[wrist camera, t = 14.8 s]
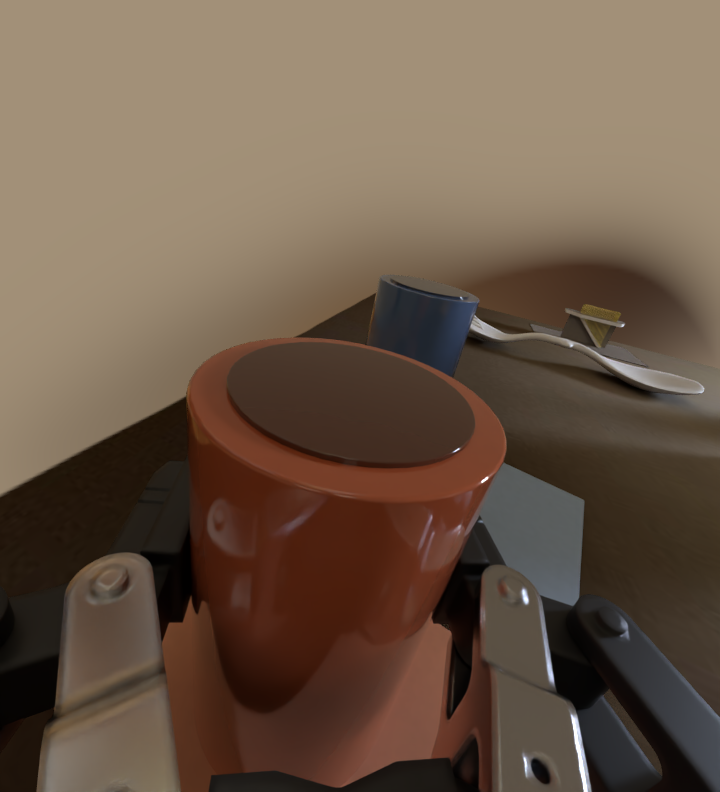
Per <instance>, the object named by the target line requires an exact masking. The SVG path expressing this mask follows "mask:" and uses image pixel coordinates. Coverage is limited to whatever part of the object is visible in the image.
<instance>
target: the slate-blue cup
mask: <svg viewBox="0 0 720 792" xmlns="http://www.w3.org/2000/svg"><path fill="white" fill-rule="evenodd" d="M478 304H479V299H478V298H477V297H476V296H474V295H472V294H470V293H468V292H465V291H462V290H460V289H457V288H455V287H452V286H449V285H445V284H442V283H438V282H434V281H430V280H425V279H421V278H415V277H409V276H399V275H383V276H380V278H379V283H378V288H377V292H376V297H375V302H374V306H373V311H372V316H371V321H370V325H369V330H368V335H367V339H366V344H365V345H367V346H372V347H376V348H380V349H383V350H387V351H390V352H394V353H397V354H400V355H403V356H406V357H409V358H411V359H414V360H417V361H419V362H421V363H424V364H426V365H428V366H430V367H433V368H435V369H437V370H439V371H441V372H443V373H444V374H446V375H448V376H450V377H452V378H453V377H454V374H455V371H456V368H457V365H458V362H459V359H460V356H461V353H462V350H463V348H464V345H465V342H466V339H467V336H468V333H469V330H470V327H471V324H472V321H473V318H474V315H475V312H476V309H477V306H478Z"/></svg>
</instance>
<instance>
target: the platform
mask: <svg viewBox="0 0 720 792" xmlns="http://www.w3.org/2000/svg"><path fill="white" fill-rule="evenodd" d="M584 306H586V304H584ZM584 306H583V308H584ZM590 307H591V308H593V309H594V308H595V306H590V305H589V307H588V306H586V309H585V308H584V309H585V310H587V311H588V312H587V311H585V310H583V308H582V310H583V311H584V312H586V313H584V312H582V310H581V312H580V311H576V310H572V309H568V308H566V309H565V312H567V313H569V314H570V316H569V318H568V320H567V322H566V325H565V327H564V329H563V331H562V332H560V331H556V330H552V329H548V328H544V327H540V326H536V325H533V324H530V325H531V327H532V329H533V330H534V332H535V333H544V334H548V335H552V336H556V337H560V338H564V339H568V340H570V341H574V342H577V343H580V344H582V345H584V346H586V347H588V348H590V349H592V350H593V351H595V352H597V353H598V354H601V355H605V356H609V357H613V358H616V359H620V360H624V361H628V362H632V363H635V364H639V365H643V366H647V365H646V364H644V363H643V362H642V361H640V360H639V359H638V358H637V357H635V356H634V355H633V354H631V353H630V352H629V351H627V350H626V349H625V348H622V347H618V346H614V345H610V344H607V343H608V341H609V339H610V337H611V335H612V333H613V332H614V330H615V328H616V326H617V327H623V326H624V324H625V323H624V322H621V321H617V320H618V319H619V317H620V315H621V314H620V313H618V312H617V313H616V312H615V311H613V312H614V313H616V314H614V313H612V311H611V310H610V311H609V310H606V309H605V310H606V311H608V312H611V313H612V314H614V315H615V317H614V316H613V317H614V318H612V317H611V318H612V319H609V318H608V317H609V316H608V317H607V318H606V316H607V314H609V313H608V312H607V314H604V313H603V314H604V315H606V316H604V315H602V314H600V313H599V312H601V311H600V310H603V309H602V308H598V309H600V310H598V309H596V308H595V310H597V311H599V312H597V311H595V310H594V312H597V313H599V314H600V315H602V316H603V317H601V316H599V315H598V314H596V315H593V314H591V313H594V312H592V311H593V309H590ZM588 309H590V310H592V311H590V310H588ZM603 311H604V310H603ZM590 312H591V313H590ZM604 312H605V311H604ZM601 313H602V312H601ZM605 313H606V312H605ZM594 314H595V313H594ZM609 315H610V314H609ZM611 316H612V315H611ZM647 367H648V366H647Z"/></svg>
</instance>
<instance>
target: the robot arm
mask: <svg viewBox="0 0 720 792" xmlns="http://www.w3.org/2000/svg"><path fill="white" fill-rule="evenodd" d="M482 521H483V520H482V518H481V516H480V515H479V517H478V519H477V521H476V523H475V526H474V528H473V530H472V532H471V534H470V537H469V539H468V541H467V543H466V545H465V547H464V550H463V552H462V554H461V556H460V558H459V560H458V563H457V565H456V567H455V569H454V571H453V574H452V576H451V578H450V580H449V582H448V584H447V587H446V589H445V591H444V593H443V595H442V597H441V600H440V602H439V604H438V606H437V608H436V611H435V613H434V615H433V617H432V621H433V624H449V627H450V631H451V636H450V638H449V640H448V644H447V652H446V662H445V672H444V682H443V693H442V703H441V713H440V722H439V729H438V733H437V737H436V740H435V744H434V747H433V751H432V755H431V759H420V760H407V761H396V762H394V763H392V764H390V765H387V766H385V767H383V768H381V769H379V770H377V771H375V772H373V773H371V774H369V775H367V776H365V777H362V778H360V779H358V780H356V781H354V782H352V783H350V784H348V785H346V786H343V787H338V788H336V787H331V786H327V785H324V784H320V783H317V782H314V781H310V780H307V779H303V778H300V777H296V776H293V775H290V774H286V773H283V772H279V771H276V770H274V771H260V772H247V773H234V774H220V775H211V780H210V785H209V791H208V792H720V718H719V716H718V715H717V714H716V713H715V712H714V711H713V710H712V709H711V707H710V706H709V705H708V704H707V703H706V702H705V701H704V700H703V699H702V697H701V696H700V695H699V694H698V693H697V692H696V691H695V690H694V688H693V687H692V686H691V685H690V684H689V683H688V682H687V681H686V680H685V678H684V677H683V676H682V675H681V674H680V673H679V672H678V671H677V669H676V668H675V667H674V666H673V665H672V664H671V663H670V662H669V661H668V659H667V658H666V657H665V656H664V655H663V654H662V653H661V652H660V650H659V649H658V648H657V647H656V646H655V645H654V644H653V643H652V642H651V640H650V639H649V638H648V637H647V636H646V635H645V634H644V633H643V631H642V630H641V629H640V628H639V627H638V626H637V625H636V624H635V623H634V621H633V620H632V619H631V618H630V617H629V616H628V615H627V614H626V613H625V612H624V611H623V610H621V609H620V608H619V607H618V606H616V605H615V604H613V603H612V602H610V601H608V600H606V599H604V598H602V597H599V596H596V595H590V594H588V595H583V596H581V597H580V598H579V599H578V600H577V602H576V603H575V604H574V606H571V605H568V604H565V603H562V602H559V601H556V600H553V599H550V598H547V597H544V596H542V595H539V593H538V591H537V589H536V588H535V586H534V585H533V584H532V583H531V582H530V581H529V580H528V579H527V578H526V577H525V576H524V575H523V574H521V573H520V572H518V571H516V570H515V569H512V568H510V567H507V566H506V564H505V562H504V560H503V558H502V556H501V554H500V552H499V550H498V549H497V547H496V545H495V543H494V541H493V539H492V537H491V535H490V533H489V532H488V530H487V528H486V526H485V524H484V523H482ZM190 598H191V566H190V524H189V481H188V455H187V457H186V459H185V461H184V462H183V461H169V462H167V463H166V464H165V465H163V466H162V467H161V468H159V469H158V470H157V471H155V472H154V474H153V475H152V477H151V479H150V481H149V482H148V484H147V486H146V489H145V490H144V491H143V493H142V494H141V496H140V498H139V499H138V503H136V504H135V506H134V508H133V510H132V511H131V513H130V515H129V516H128V518H127V520H126V522H125V523H124V525H123V527H122V528H121V530H120V532H119V534H118V535H117V537H116V539H115V540H114V542H113V544H112V545H111V547H110V549H109V551H108V552H107V554H106V555H105V557H102V558H100V559H97V560H95V561H94V562H92V563H90V564H89V565H87V566H86V567H84V568H83V569H82V570H81V571H80V572H78V573H77V574H76V575H75V577H74V578H73V579H72V580H71V581H70V582H68V583H65V584H63V585H59V586H56V587H52V588H48V589H44V590H40V591H36V592H31V593H27V594H23V595H19V596H14V597H10V598H8V596H7V594H6V592H5V590H4V589H3V588H2V587H0V753H1V752H2V750H3V749H4V747H5V746H6V745H7V743H8V742H9V740H10V739H11V737H12V736H13V735H14V733H15V732H16V730H17V729H18V727H19V726H20V725H21V723H22V722H23V720H24V719H25V718H26V717H29V716H32V715H35V714H37V713H40V712H43V711H46V710H49V709H51V708H54V707H55V709H54V714H53V716H52V718H51V719H49V720H48V721H47V723H46V726H45V729H44V734H43V739H42V745H41V753H40V763H39V773H38V782H37V792H181V786H180V778H179V770H178V762H177V754H176V746H175V738H174V730H173V722H172V714H171V706H170V698H169V691H168V683H167V675H166V669H165V664H164V657H163V649H162V642H163V639H164V636H165V633H166V630H167V627H168V624H169V623H183V620H184V617H185V614H186V611H187V607H188V604H189V601H190ZM609 688H610V690H611V691H612V693H613V694H614V695H615V697H616V698H617V699H618V701H619V702H620V704H621V705H622V706H623V708H624V709H625V710H626V712H627V713H628V715H629V716H630V717H631V719H632V720H633V721H634V723H635V724H636V726H637V727H638V728H639V730H640V731H641V732H642V734H643V735H644V737H645V738H646V739H647V741H648V742H649V743H650V745H651V746H652V748H653V749H654V751H655V752H656V754H657V756H658V758H659V760H660V763H661V766H662V772H663V775H662V776H661V775H660V774H659V773H658V772H657V771H656V770H655V768H654V767H653V766H652V764H651V763H650V762H649V760H648V759H647V757H646V756H645V755H644V753H643V752H642V750H641V749H640V747H639V746H638V745H637V743H636V742H635V740H634V739H633V738H632V736H631V735H630V733H629V732H628V730H627V729H626V728H625V726H624V725H623V723H622V722H621V720H620V719H619V718H618V716H617V715H616V713H615V712H614V711H613V709H612V708H611V706H610V705H609V703H608V702H607V701H606V699H605V698H604V696H603V695H604V694H605V693H606V692H607V691H608V689H609Z"/></svg>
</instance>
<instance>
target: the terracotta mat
mask: <svg viewBox="0 0 720 792" xmlns="http://www.w3.org/2000/svg"><path fill="white" fill-rule="evenodd" d="M450 636H451V632H450V631H449V630H447V629H446V628H444V627H443V626H442V625H440V624H433V621H432V619H431V621H430V624H429V626H428V628H427V630H426V632H425V634H424V637H423V639H422V641H421V643H420V645H419V648H418V650H417V652H416V654H415V656H414V658H413V661H412V663H411V665H410V667H409V669H408V671H407V674H406V676H405V678H404V680H403V682H402V685H401V687H400V689H399V691H398V693H397V695H396V698H395V700H394V702H393V704H392V706H391V708H390V711H389V713H388V715H387V717H386V719H385V722H384V724H383V726H382V728H381V730H380V732H379V735H378V737H377V739H376V741H375V743H374V745H373V747H372V749H371V751H370V752H369V754H368V756H367V758H366V759H365V761H364V762H363V763H362V765H361V766H360V767H359V769H358V770H357V771H356V772H355V773H354V774H353V775H352V776H351V777H350V778H349V779H348V781H347V782H346V783H344V784H343V785H342V786H340V787H343V786H346V785H348V784H350V783H352V782H354V781H356V780H358V779H360V778H362V777H365V776H367V775H369V774H371V773H373V772H375V771H377V770H379V769H381V768H383V767H385V766H387V765H390V764H392V763H394V762H396V761H407V760H420V759H431V755H432V751H433V747H434V744H435V740H436V737H437V733H438V729H439V722H440V713H441V703H442V693H443V682H444V672H445V662H446V652H447V644H448V640H449V638H450ZM162 649H163V657H164V664H165V669H166V675H167V683H168V691H169V698H170V706H171V714H172V722H173V730H174V738H175V746H176V754H177V762H178V770H179V778H180V786H181V792H208V791H209V785H210V780H211V775H217V774H216V773H215V771H214V770H213V768H212V767H211V766H210V764H209V763H208V761H207V758H206V756H205V754H204V752H203V750H202V748H201V745H200V741H199V738H198V735H197V731H196V725H195V719H194V693H193V650H192V608H191V598H190V601H189V604H188V607H187V611H186V614H185V617H184V620H183V623H169V624H168V627H167V630H166V633H165V636H164V639H163V642H162ZM53 709H55V707H54V708H53Z"/></svg>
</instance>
